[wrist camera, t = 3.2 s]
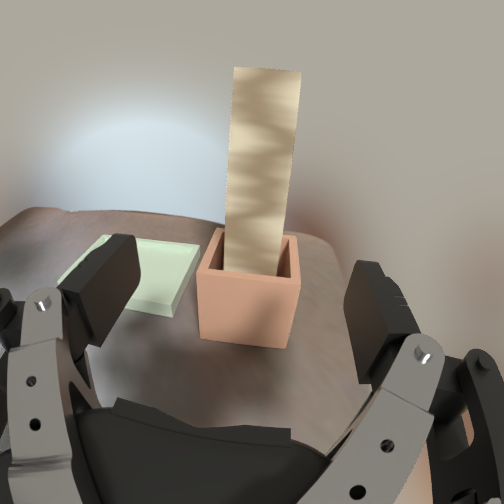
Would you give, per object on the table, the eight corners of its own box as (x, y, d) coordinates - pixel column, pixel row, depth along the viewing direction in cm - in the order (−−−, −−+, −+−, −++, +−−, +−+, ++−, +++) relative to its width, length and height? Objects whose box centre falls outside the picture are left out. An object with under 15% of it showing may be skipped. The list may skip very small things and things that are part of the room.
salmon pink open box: (200, 338, 23) (196, 272, 20) (216, 287, 29) (216, 227, 26) (285, 348, 23) (301, 285, 19) (285, 295, 29) (296, 236, 26)
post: (222, 321, 24) (234, 66, 14) (229, 293, 28) (242, 73, 17) (267, 326, 24) (301, 72, 14) (269, 298, 27) (297, 78, 17)
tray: (61, 292, 25) (57, 281, 25) (105, 244, 35) (103, 234, 34) (172, 317, 25) (170, 305, 24) (200, 256, 34) (199, 245, 34)
